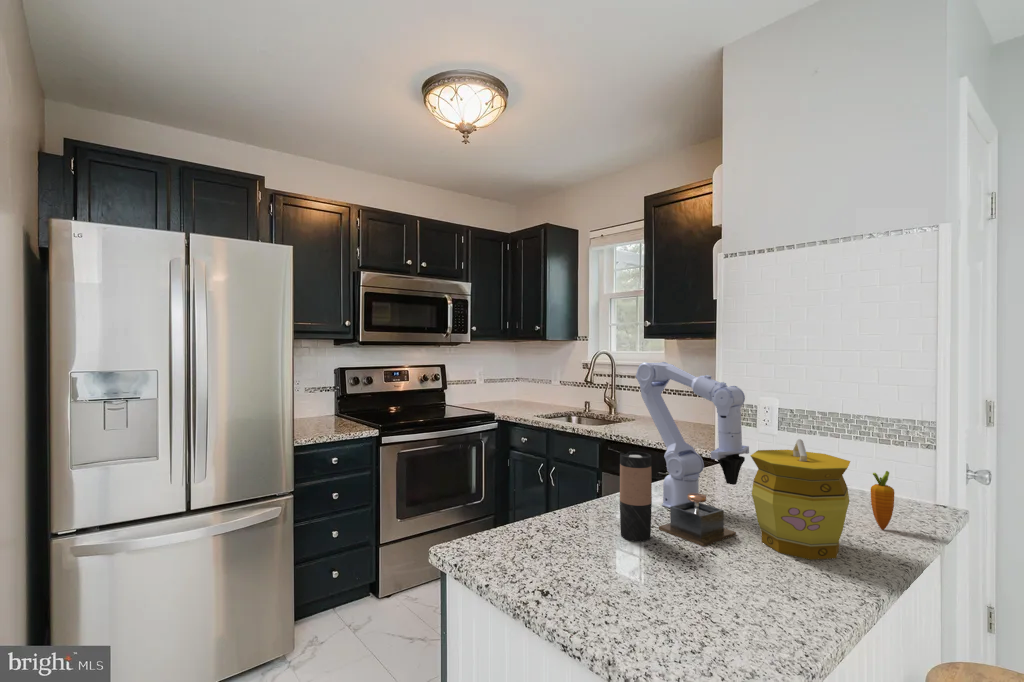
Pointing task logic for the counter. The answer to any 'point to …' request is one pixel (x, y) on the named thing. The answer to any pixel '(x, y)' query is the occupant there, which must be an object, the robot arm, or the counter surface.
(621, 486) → the travel mug
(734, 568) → the counter surface
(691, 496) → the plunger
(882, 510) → the carrot
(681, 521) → the knob box on board
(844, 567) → the counter surface
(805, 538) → the container
